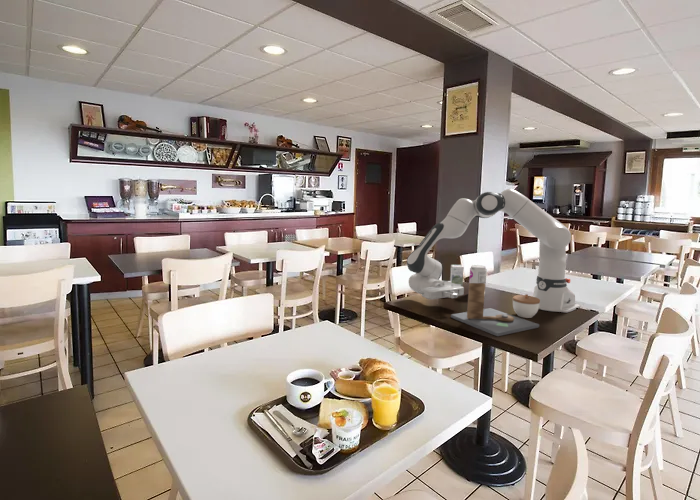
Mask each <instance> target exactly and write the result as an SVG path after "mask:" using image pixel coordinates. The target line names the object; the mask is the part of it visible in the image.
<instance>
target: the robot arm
mask: <svg viewBox="0 0 700 500" xmlns="http://www.w3.org/2000/svg"><path fill="white" fill-rule="evenodd" d="M499 212H503V213H504V214H507V215H508V216H509V217H510V218H512V219H513V220H514V221H515V222H517V223H518V224H519V225H521V226H522V227H523V228H524V229H525V230H527V231H528V232H530V234H531V235H533V236H534V237H535V238H537V239H538V240H539V246H538V248H539V249H538V250H539V252H538V253H539V258H538V259H539V260H538V261H539V263H538V273H537V276H536V280H535V281H536V282H535V283H536V285H535V286H534V289H533V295H532V297H536V298H538V299H540V303H539V309H538V310H542V311H546V312H547V311H548V312H559V313H560V312H561V313H570V312H573V311H575V310H577V309H576V308H578V309H580V308H581V304H578V303H576V296H575V293H574V292H573V291H571V289H570V288H569V287H568V285H567V284H570V283H571V278H566V268H567V254H566V253H567V252H566V247H567V246H568V245H569V244H570V242H571V240H572V233H571V231H570V230H569V228H568V227H567V226H565V224H563V223H562V222H560V221H559V220H557V219H556V218H555V217H553V215H551V214H549V213H548V212H546V211H545V210H544V209H542V208H541V207H540V206H538V204H536V203H535V202H533V201H532V200H530V199H529V198H528V197H527V196H525V195H524V194H523V193H520V192H519V191H517V190H516V189H513V188H506V189H504V190H503V191H501V193H499V192H494V191H484V192H482V193H481V194H479V195H478V196H477V197H476V199H475V200H472V199H469V198H465V197H464V198H463V197H462V198H459V199H458V200H456V202H455V203H453V205H452V206H451V208H450V209H449V212H448V213H447V214H446V216H445V218H444V219H443V220H442V221H440V222H438V223H436V224H435V225H433V226H432V227H431V229H430V230H429V231H428V232H427V234H426V235H425V236H424V237H423V239H422V240H421V241H420V243H419V244H418V245H417V246H416V248H415V249H414V250H413V251H412V252H411V253H409V255H408V257H407V259H406V266H407V268H408V270H409V271H410V272H413V273H414V274H412V275H410V276H409V278H408V286H409V288H410V289H411V290H412V291H413V292H414V293H417V294H420V295H421V296H422V298H425V299H427V300H439V299H443V298H451V299H456V298H458V297H459V296H463V295H464V294H465V293H464V292H465V287H464V286H463V285H462V286H460V285H457V284H454V283H451V281H450V280H443V279H442V280H441V279H440V278H441V277H442V273H443V264H442V263H441V262H440V261H439V260H437V259H435V258H433V257H431V256H429V255H428V253H429V252H430V251H431V250H432V247H434V245H435V244H436V243H437V242H438V241H439V240H442V239H457V238H460V237H461V236H463V235H464V233H465V232H466V231H467V229H468V228H469V225H470V223H471V222H472V220H473V219H474V218H482V219H488V218H492V217H493V216H495V215H496V214H497V213H499Z"/></svg>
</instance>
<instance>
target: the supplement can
mask: <svg viewBox="0 0 700 500" xmlns="http://www.w3.org/2000/svg"><path fill="white" fill-rule="evenodd" d="M487 273H488V271H487V267H486V266H485V265H479V264H477V265H475V264H474V265H473V264H472V265H471V266H470V268H469V280H468V281H469V282H468V284H469V283H484V284H485V290H486V288H487V287H486V286H487ZM485 295H486V293H485V294H484V296H485Z"/></svg>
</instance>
